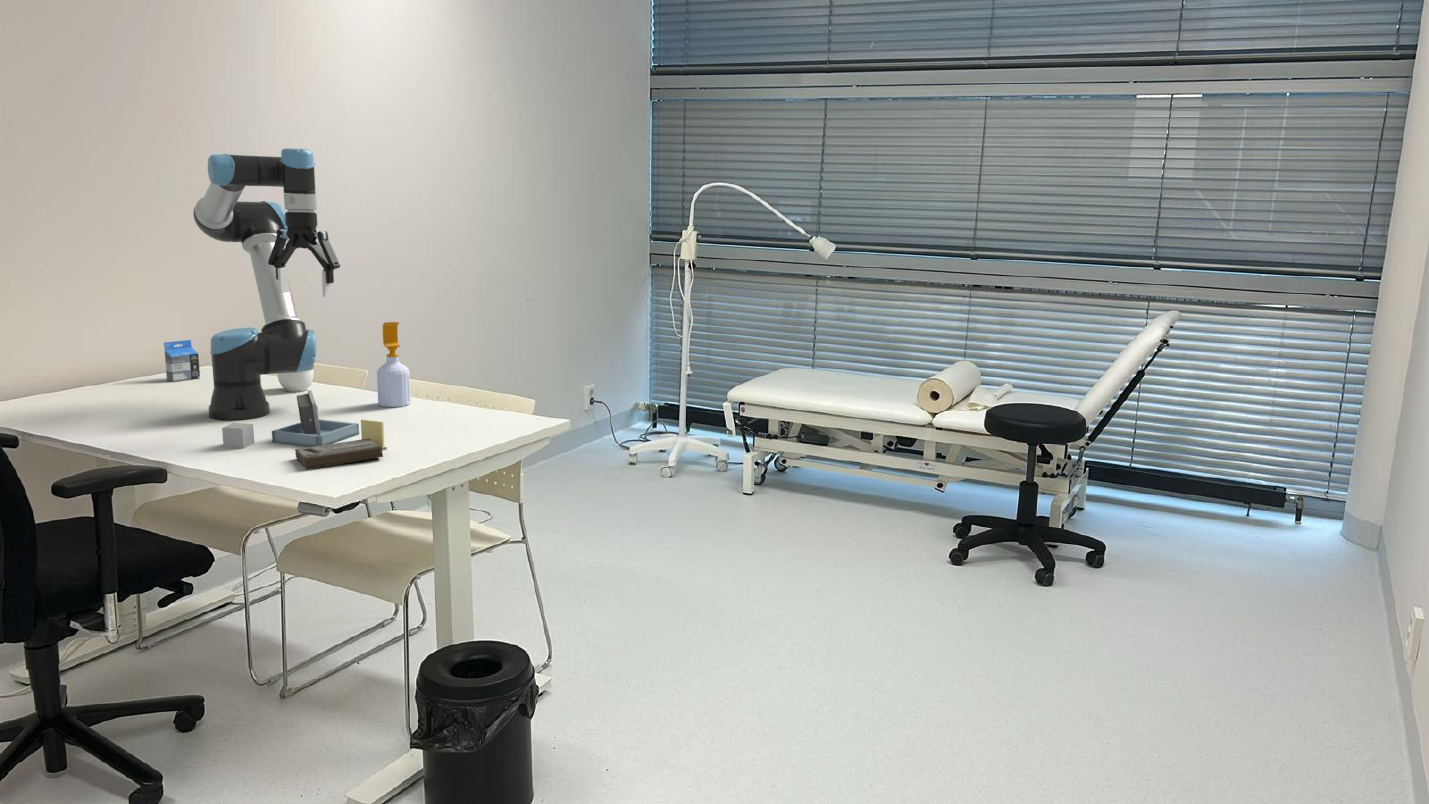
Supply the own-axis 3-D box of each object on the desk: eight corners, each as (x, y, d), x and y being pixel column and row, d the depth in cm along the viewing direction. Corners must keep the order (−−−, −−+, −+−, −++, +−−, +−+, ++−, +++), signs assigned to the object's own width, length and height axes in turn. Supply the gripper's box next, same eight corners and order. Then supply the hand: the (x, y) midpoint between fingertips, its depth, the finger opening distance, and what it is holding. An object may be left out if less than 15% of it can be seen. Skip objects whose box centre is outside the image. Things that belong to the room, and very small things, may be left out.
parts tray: (272, 442, 239) (271, 431, 238) (313, 428, 253) (313, 418, 253) (319, 447, 235) (319, 436, 235) (359, 434, 249) (358, 423, 249)
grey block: (223, 447, 233) (221, 427, 232) (234, 442, 238) (233, 422, 237) (243, 448, 233) (242, 428, 232) (254, 443, 238) (253, 423, 237)
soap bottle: (381, 408, 278) (377, 324, 273) (376, 402, 286) (372, 320, 281) (413, 406, 282) (410, 323, 277) (407, 400, 290) (404, 319, 285)
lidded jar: (270, 389, 299) (268, 360, 297) (302, 385, 307) (300, 356, 305) (290, 394, 293) (288, 364, 291) (322, 389, 301) (320, 360, 299)
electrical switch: (320, 437, 243) (323, 403, 239) (298, 437, 240) (300, 403, 237) (315, 422, 250) (318, 389, 247) (294, 422, 247) (296, 389, 244)
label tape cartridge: (173, 382, 305) (169, 343, 303) (166, 380, 307) (162, 342, 305) (200, 378, 313) (197, 340, 310) (194, 376, 315) (190, 339, 312)
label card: (359, 448, 236) (358, 420, 234) (365, 446, 238) (364, 418, 236) (380, 451, 234) (379, 423, 232) (386, 448, 236) (385, 420, 235)
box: (383, 459, 226) (382, 446, 226) (305, 471, 217) (304, 457, 216) (371, 450, 235) (370, 437, 234) (295, 460, 225) (294, 448, 225)
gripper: (249, 209, 245) (255, 293, 250) (332, 213, 238) (336, 298, 243) (271, 209, 252) (276, 290, 257) (351, 212, 245) (355, 296, 250)
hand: (305, 294), depth 250 cm, fingers open, 13 cm apart
